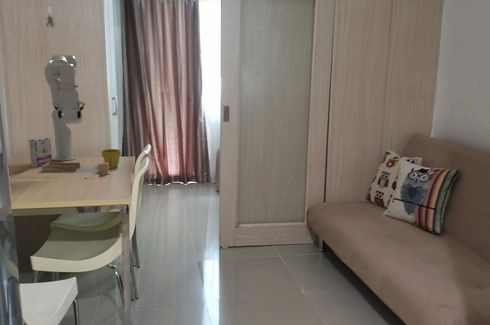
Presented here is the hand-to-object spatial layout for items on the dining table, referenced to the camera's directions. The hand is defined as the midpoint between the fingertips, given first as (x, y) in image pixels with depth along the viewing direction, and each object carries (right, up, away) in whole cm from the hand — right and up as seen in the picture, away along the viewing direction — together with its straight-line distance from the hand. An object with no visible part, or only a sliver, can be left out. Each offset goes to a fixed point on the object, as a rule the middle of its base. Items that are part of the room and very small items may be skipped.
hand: (69, 118), depth 242 cm
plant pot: (+20, -27, +11) cm, 36 cm away
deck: (+1, -29, -2) cm, 29 cm away
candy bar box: (-19, -27, +8) cm, 34 cm away
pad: (+21, -30, -6) cm, 37 cm away
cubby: (-3, -28, -4) cm, 29 cm away
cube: (+21, -30, -6) cm, 37 cm away
